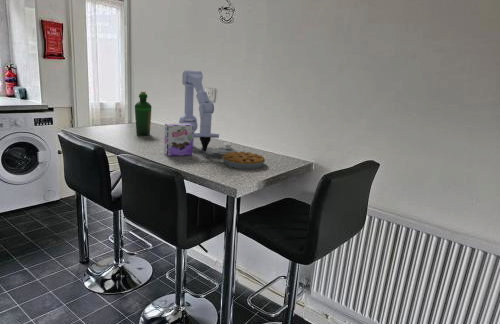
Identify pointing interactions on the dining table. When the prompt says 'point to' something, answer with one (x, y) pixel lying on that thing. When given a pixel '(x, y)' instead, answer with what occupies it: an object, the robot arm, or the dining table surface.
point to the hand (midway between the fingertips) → (204, 150)
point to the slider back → (227, 146)
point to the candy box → (178, 139)
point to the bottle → (143, 115)
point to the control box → (210, 154)
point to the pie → (243, 160)
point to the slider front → (215, 149)
